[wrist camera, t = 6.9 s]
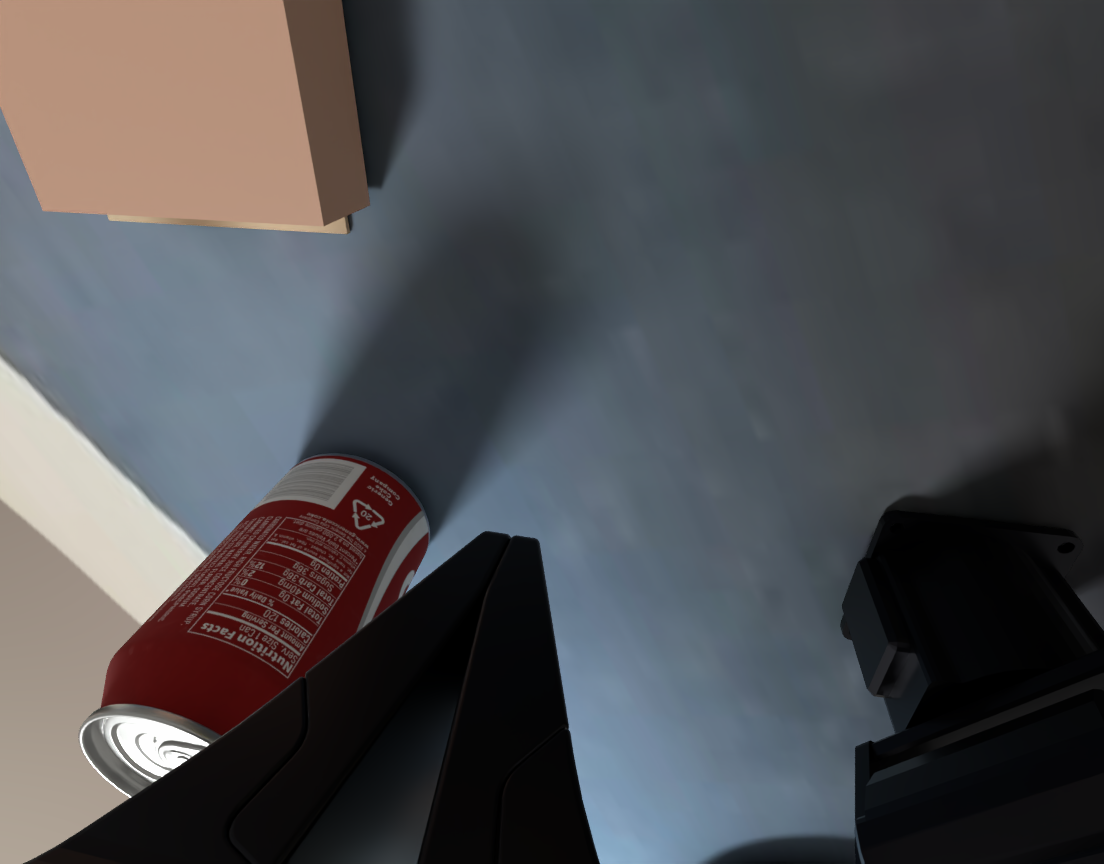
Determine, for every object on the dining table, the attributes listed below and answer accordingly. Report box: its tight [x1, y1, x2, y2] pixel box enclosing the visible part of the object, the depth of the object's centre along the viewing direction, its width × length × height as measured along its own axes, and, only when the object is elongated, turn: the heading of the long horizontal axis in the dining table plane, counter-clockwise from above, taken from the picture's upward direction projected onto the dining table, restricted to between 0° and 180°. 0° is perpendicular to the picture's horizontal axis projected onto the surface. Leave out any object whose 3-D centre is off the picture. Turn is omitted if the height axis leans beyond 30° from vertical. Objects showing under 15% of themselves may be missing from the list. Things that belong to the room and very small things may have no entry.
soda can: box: [79, 453, 430, 798], centre depth 22 cm, size 7×7×12 cm
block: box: [0, 0, 370, 226], centre depth 16 cm, size 3×10×9 cm
